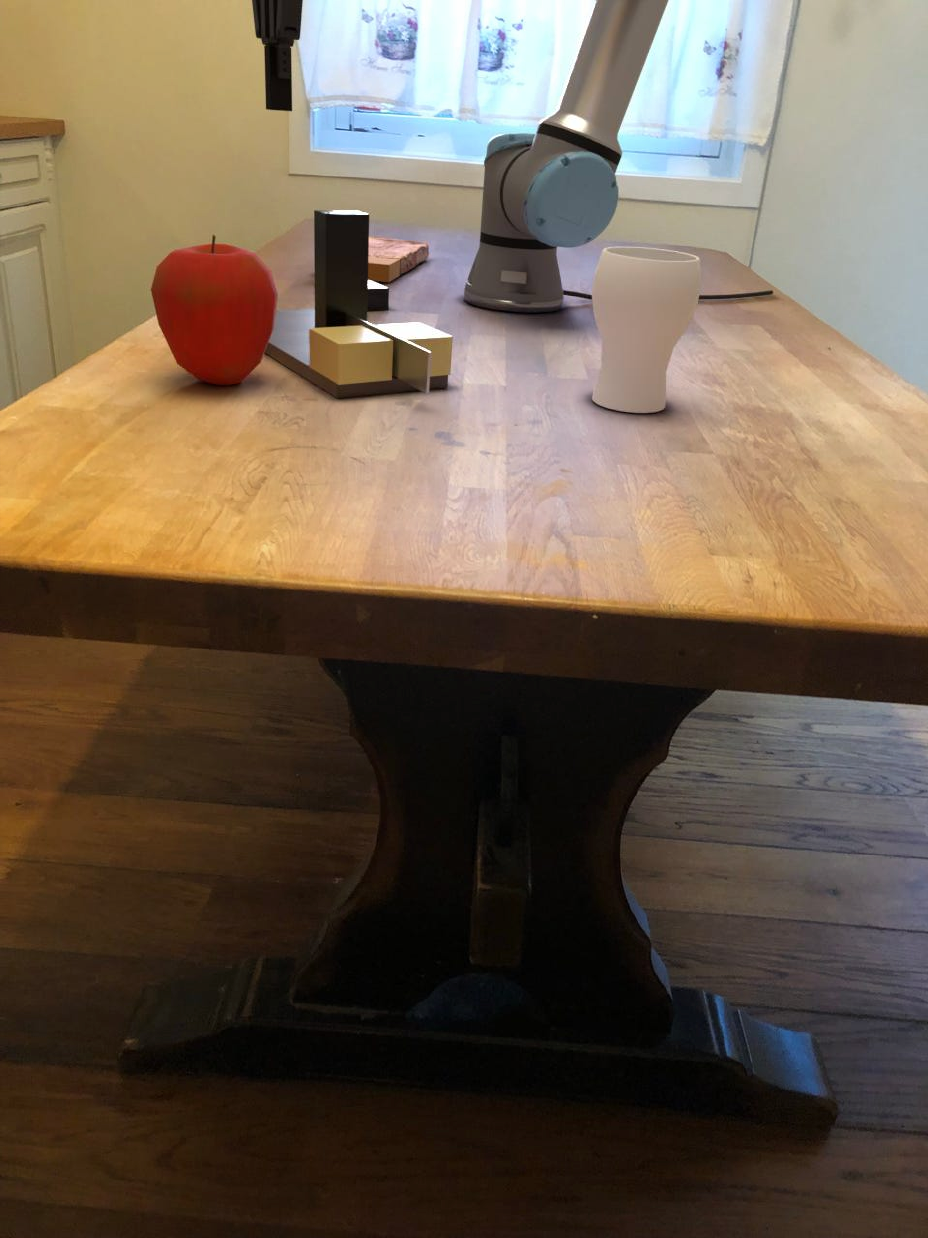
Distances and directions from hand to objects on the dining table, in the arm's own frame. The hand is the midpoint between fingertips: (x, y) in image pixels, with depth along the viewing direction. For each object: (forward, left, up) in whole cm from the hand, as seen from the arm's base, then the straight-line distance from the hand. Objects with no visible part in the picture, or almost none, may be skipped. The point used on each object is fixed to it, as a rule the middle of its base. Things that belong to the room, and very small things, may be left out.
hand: (279, 109), depth 113 cm
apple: (+25, +18, -25) cm, 39 cm away
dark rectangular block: (-16, -2, -24) cm, 29 cm away
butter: (+13, +29, -23) cm, 39 cm away
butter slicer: (+13, +28, -23) cm, 39 cm away
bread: (-43, -23, -25) cm, 55 cm away
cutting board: (+8, +16, -24) cm, 30 cm away
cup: (-3, +50, -25) cm, 56 cm away
